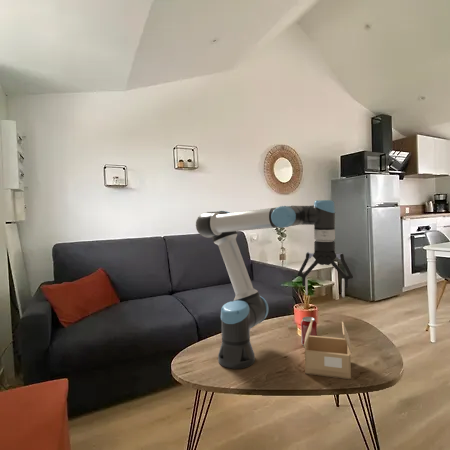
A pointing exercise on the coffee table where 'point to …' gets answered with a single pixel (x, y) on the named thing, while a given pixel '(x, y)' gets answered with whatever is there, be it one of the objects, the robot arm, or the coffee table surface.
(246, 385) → the coffee table surface
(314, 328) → the soda can
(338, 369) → the carton
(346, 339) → the flap
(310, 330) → the flap
